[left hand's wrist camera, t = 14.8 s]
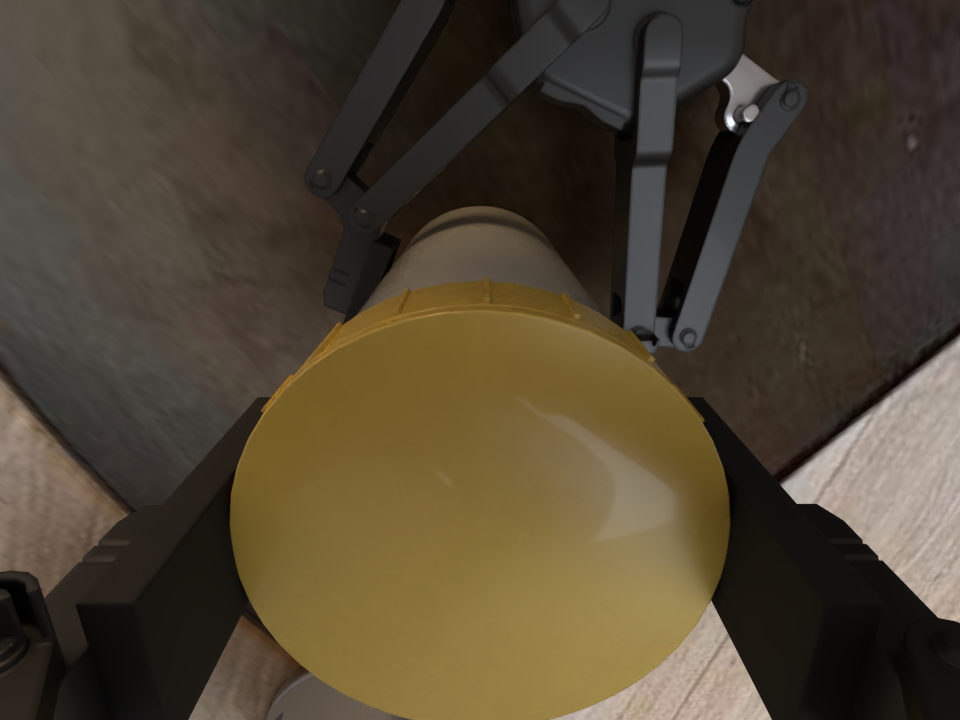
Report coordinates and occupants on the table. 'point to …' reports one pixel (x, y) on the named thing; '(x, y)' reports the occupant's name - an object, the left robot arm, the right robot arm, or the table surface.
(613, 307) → the right robot arm
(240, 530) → the lid
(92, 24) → the table surface
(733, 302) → the table surface
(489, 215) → the jar
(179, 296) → the table surface
